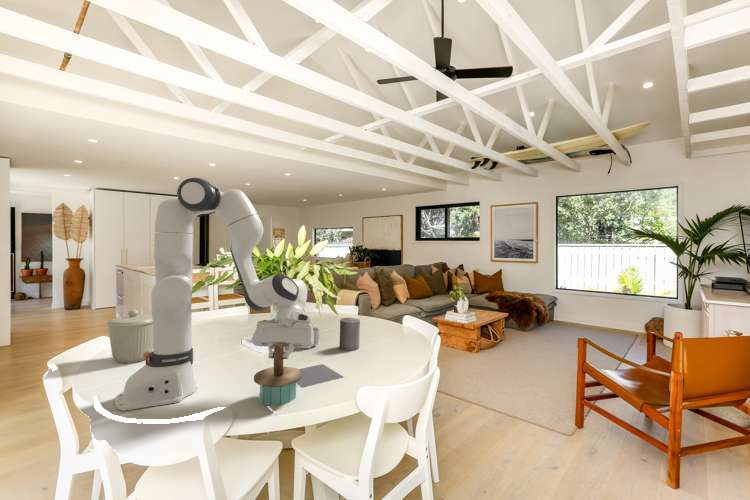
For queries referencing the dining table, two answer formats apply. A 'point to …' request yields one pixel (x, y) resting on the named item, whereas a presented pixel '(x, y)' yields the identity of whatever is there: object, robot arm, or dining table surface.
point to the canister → (131, 336)
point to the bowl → (277, 394)
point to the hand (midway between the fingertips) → (278, 358)
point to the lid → (278, 371)
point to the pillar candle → (349, 333)
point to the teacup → (316, 336)
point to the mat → (317, 375)
